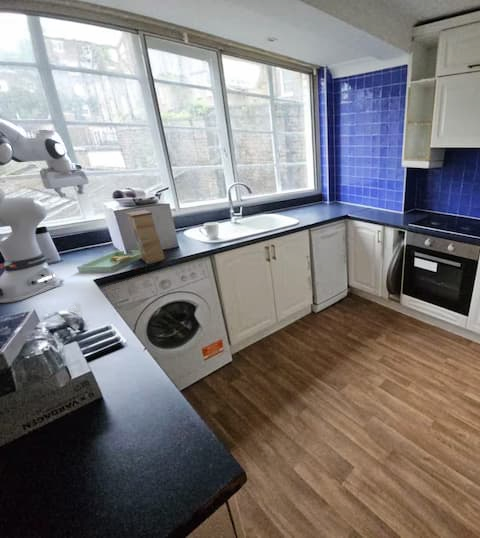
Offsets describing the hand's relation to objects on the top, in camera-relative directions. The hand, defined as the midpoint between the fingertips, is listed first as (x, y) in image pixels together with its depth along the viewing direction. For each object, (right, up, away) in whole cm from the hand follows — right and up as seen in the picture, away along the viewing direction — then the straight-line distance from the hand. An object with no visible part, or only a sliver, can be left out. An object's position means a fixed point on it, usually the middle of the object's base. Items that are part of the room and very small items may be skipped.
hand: (72, 195), depth 149 cm
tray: (+15, -34, +8) cm, 39 cm away
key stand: (+34, -32, +11) cm, 48 cm away
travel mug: (-21, -34, +12) cm, 42 cm away
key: (+18, -32, +7) cm, 38 cm away
